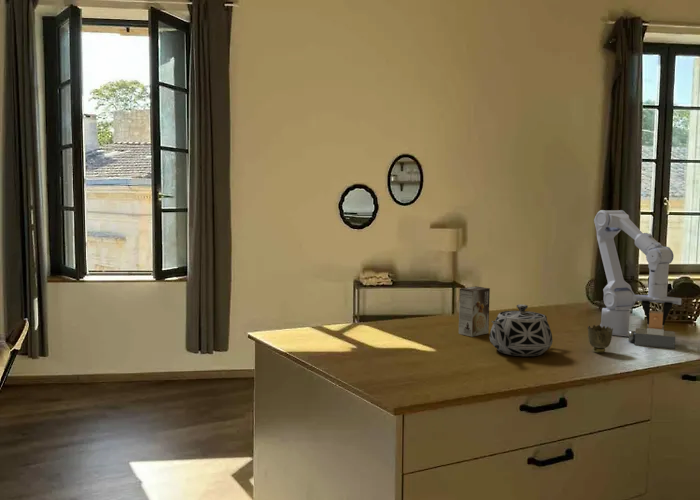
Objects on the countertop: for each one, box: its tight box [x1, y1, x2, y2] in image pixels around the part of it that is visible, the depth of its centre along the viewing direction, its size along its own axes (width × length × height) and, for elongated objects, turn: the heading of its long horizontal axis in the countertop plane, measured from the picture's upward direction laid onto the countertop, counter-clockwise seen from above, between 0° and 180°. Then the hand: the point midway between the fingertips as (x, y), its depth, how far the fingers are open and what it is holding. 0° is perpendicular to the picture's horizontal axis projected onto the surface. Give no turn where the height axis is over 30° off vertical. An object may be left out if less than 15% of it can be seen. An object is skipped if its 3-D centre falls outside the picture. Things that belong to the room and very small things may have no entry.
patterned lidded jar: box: [489, 303, 553, 357], centre depth 220 cm, size 19×31×15 cm, turn 135°
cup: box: [587, 324, 613, 354], centre depth 222 cm, size 8×7×8 cm
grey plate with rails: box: [628, 323, 676, 350], centre depth 235 cm, size 14×9×6 cm, turn 67°
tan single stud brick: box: [649, 310, 663, 329], centre depth 233 cm, size 4×6×6 cm
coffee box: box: [458, 285, 491, 338], centre depth 246 cm, size 9×6×16 cm
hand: (655, 324), depth 234 cm, fingers closed on tan single stud brick, 4 cm apart
